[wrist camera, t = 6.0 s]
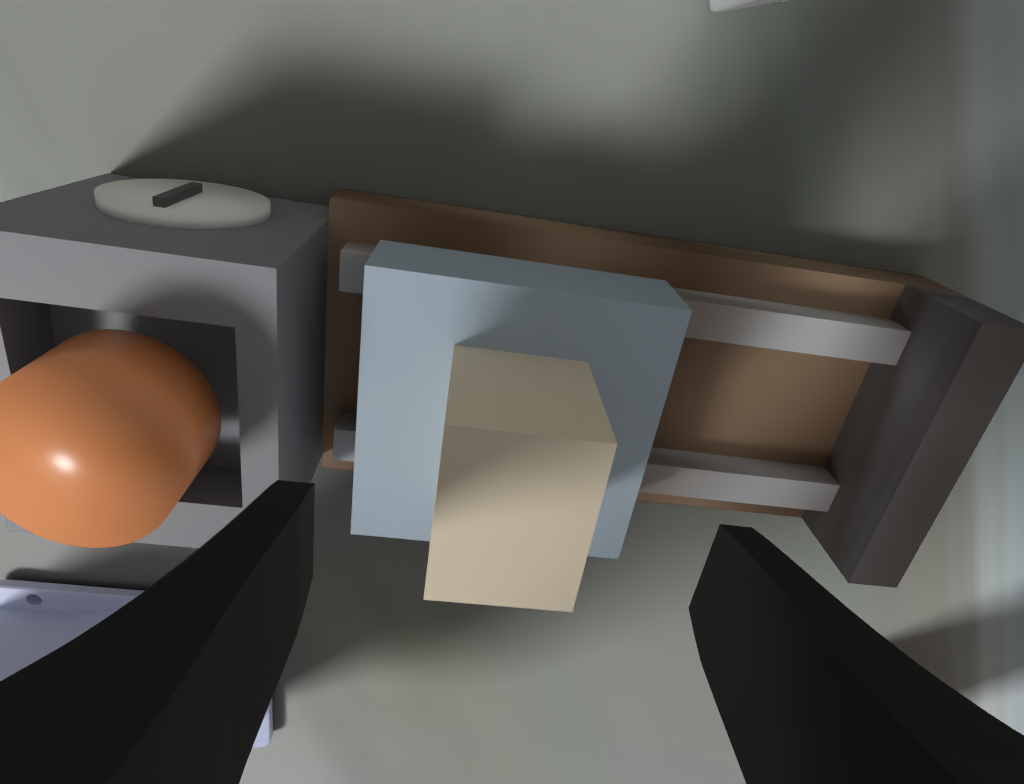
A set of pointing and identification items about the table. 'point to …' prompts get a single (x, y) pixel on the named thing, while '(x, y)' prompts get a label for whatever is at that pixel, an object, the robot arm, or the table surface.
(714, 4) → the supplement box
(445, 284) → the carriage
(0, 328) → the cabinet
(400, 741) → the table surface
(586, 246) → the rail track
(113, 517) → the button
